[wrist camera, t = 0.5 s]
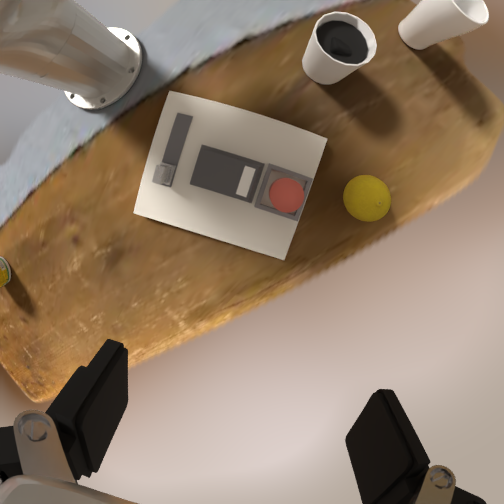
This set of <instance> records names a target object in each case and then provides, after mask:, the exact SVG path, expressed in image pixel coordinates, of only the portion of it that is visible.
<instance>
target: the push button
mask: <svg viewBox="0 0 504 504" xmlns="http://www.w3.org/2000/svg"><path fill="white" fill-rule="evenodd" d="M269 198H270V200H271V202H272V204H273V206H274V207H275V208H276V209H277V210H279V211H281V212H285V213H289V212H293V211H296V210H297V209H298V208H299V207H300V206H301V205H302V203H303V201H304V191H303V188H302V186H301V185H300V184H299V183H298V182H297V181H295V180H292V179H290V178H284V177H283V178H279V179H277V180H275V181H274V182H273V183H272V184H271V186H270V188H269Z"/></svg>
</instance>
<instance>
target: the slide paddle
mask: <svg viewBox="0 0 504 504" xmlns="http://www.w3.org/2000/svg"><path fill="white" fill-rule="evenodd" d="M175 167H176V166H175V165H171V164H167V163H164V162H161V163H160V165H156V168H155V172H154V176H153V179H152V182H153V183H156V184H166V185H170V184H171V181H172V177H173V174H174V170H175Z"/></svg>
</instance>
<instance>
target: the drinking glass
mask: <svg viewBox="0 0 504 504" xmlns="http://www.w3.org/2000/svg"><path fill="white" fill-rule="evenodd" d="M488 19H489V13H488V9H487V7H486V5H485V3H484V1H483V0H421V1H420V2H419V4H418V5H417V6H416V7H415V8H414V9H413V10H412V11H411V12H410V13H409V14H408V15H407V17H406V18H404V19H403V20H402V21H401V22H400V23H399V26H398V31H399V34H400V37H401V38H402V40H403V41H404V42H405V43H406V44H407V45H408V46H410V47H412V48H414V49H417V50H422V49H425V48H427V47H429V46H431V45H434V44H436V43H439V42H442V41H445V40H447V39H450V38H453V37H456V36H460V35H463V34H465V33H468V32H470V31H473V30H475V29H477V28H479V27H480V26H482V25H484V24H486V23H487V22H488Z"/></svg>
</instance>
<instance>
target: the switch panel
mask: <svg viewBox="0 0 504 504" xmlns="http://www.w3.org/2000/svg"><path fill="white" fill-rule="evenodd" d="M326 142H327V138H324V137H322V136H319V135H317V134H314V133H311V132H309V131H306V130H303V129H301V128H298V127H295V126H292V125H290V124H287V123H284V122H281V121H278V120H275V119H272V118H269V117H266V116H263V115H260V114H257V113H253V112H250V111H247V110H244V109H240V108H237V107H233V106H230V105H226V104H222V103H219V102H215V101H211V100H207V99H203V98H199V97H195V96H191V95H187V94H182V93H178V92H173V91H169V93H168V96H167V99H166V102H165V105H164V107H163V110H162V113H161V116H160V119H159V122H158V125H157V129H156V132H155V135H154V138H153V141H152V145H151V148H150V151H149V155H148V158H147V162H146V166H145V169H144V173H143V177H142V180H141V184H140V188H139V192H138V196H137V200H136V205H135V209H134V213H135V214H138V215H141V216H144V217H147V218H151V219H154V220H157V221H160V222H163V223H167V224H170V225H173V226H176V227H179V228H183V229H186V230H189V231H192V232H195V233H199V234H202V235H205V236H208V237H211V238H215V239H218V240H221V241H224V242H227V243H230V244H234V245H237V246H240V247H243V248H246V249H250V250H253V251H256V252H259V253H262V254H266V255H269V256H272V257H275V258H278V259H281V260H285V257H286V254H287V252H288V249H289V246H290V243H291V241H292V238H293V235H294V233H295V230H296V227H297V224H298V222H299V219H300V216H301V213H302V211H303V208H304V205H305V202H306V199H307V197H308V194H309V191H310V188H311V185H312V183H313V180H314V177H315V174H316V171H317V168H318V165H319V162H320V159H321V157H322V154H323V151H324V148H325V145H326ZM201 149H204V150H208V151H211V152H215V153H218V154H222V155H225V156H228V157H232V158H235V159H238V160H241V161H244V162H248V163H251V164H254V165H257V166H260V167H261V169H260V172H259V175H258V178H257V181H256V184H255V187H254V190H253V193H252V196H251V199H250V202H247V201H244V200H241V199H238V198H236V197H233V196H230V195H227V194H224V193H221V192H218V191H215V190H212V189H210V188H207V187H204V186H201V185H198V184H195V183H192V182H191V180H192V177H193V174H194V170H195V167H196V164H197V161H198V157H199V154H200V151H201ZM161 162H164V163H167V164H171V165H175V166H176V167H175V170H174V174H173V177H172V181H171V184H170V185H166V184H156V183H153V182H152V179H153V176H154V172H155V168H156V165H160V163H161ZM283 177H284V178H290V179H292V180H295V181H297V182H298V183H299V184H300V185H301V186H302V188H303V191H304V201H303V203H302V205H301V206H300V207H299V208H298V209H297V210H296V211H293V212H289V213H285V212H281V211H279V210H277V209H276V208H275V207H274V206H273V204H272V202H271V200H270V198H269V188H270V186H271V184H272V183H273V182H274V181H275V180H277V179H279V178H283Z"/></svg>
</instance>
